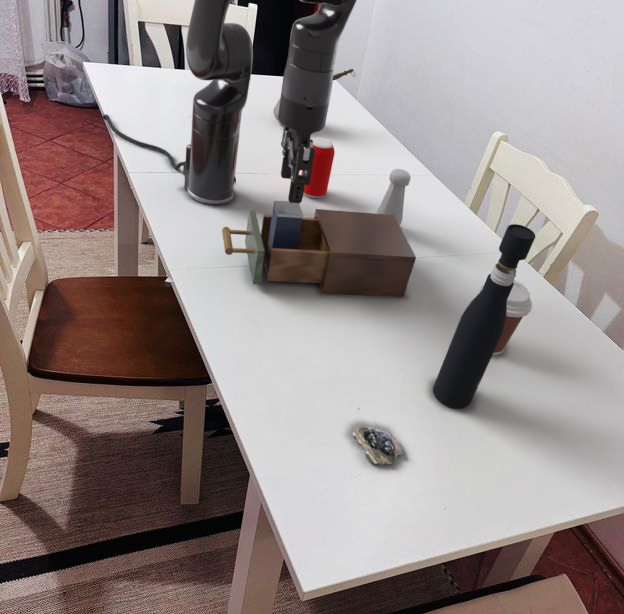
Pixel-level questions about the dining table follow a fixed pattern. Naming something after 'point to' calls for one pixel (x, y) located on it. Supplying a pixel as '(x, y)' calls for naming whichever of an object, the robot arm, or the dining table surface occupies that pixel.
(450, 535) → the dining table surface
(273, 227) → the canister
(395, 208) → the salt shaker
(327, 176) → the beverage can
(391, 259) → the cabinet
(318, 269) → the drawer
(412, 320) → the dining table surface
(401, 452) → the mineral rock
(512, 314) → the coffee cup
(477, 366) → the black bottle
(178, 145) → the dining table surface
